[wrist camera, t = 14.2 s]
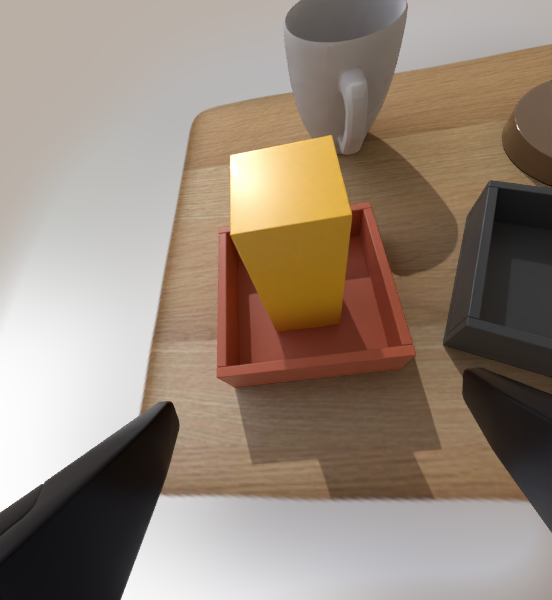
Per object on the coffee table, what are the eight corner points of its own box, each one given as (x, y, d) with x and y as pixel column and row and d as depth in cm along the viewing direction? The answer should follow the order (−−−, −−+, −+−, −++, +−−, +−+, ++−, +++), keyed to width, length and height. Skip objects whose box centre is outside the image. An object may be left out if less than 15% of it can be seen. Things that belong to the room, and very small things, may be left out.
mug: (292, 118, 32) (279, -2, 23) (374, 102, 30) (392, -30, 22) (302, 198, 26) (290, 82, 18) (402, 182, 25) (440, 50, 17)
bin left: (401, 369, 19) (416, 354, 15) (234, 387, 20) (216, 377, 17) (364, 233, 24) (370, 201, 20) (232, 254, 25) (218, 227, 22)
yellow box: (340, 324, 20) (352, 214, 10) (276, 332, 20) (229, 235, 11) (329, 269, 22) (332, 134, 12) (272, 278, 22) (229, 154, 13)
